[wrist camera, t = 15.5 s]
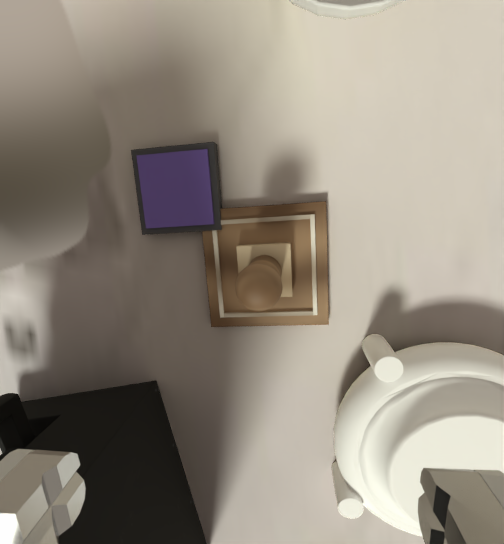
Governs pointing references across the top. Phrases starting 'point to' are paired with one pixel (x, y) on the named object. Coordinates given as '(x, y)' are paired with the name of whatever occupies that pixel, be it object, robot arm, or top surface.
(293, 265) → the board
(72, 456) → the robot arm
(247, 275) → the stamp
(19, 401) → the coffee maker
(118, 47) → the top surface
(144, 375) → the top surface
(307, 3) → the bowl
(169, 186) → the ink pad
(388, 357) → the round stand with pegs
